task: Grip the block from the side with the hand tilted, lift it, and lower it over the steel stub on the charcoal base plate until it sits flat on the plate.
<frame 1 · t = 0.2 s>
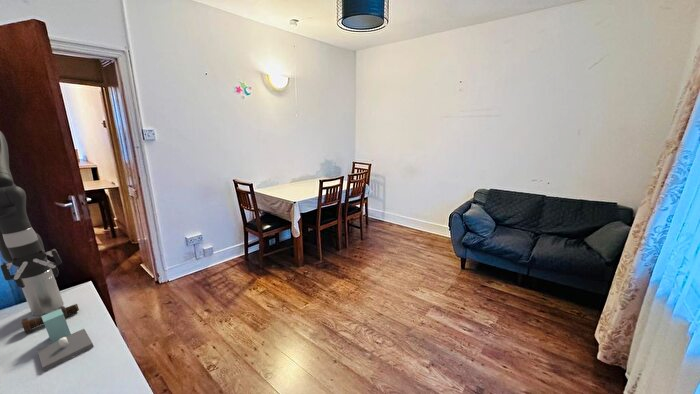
hand: (40, 281, 105), 18 cm above the table, tool pointing down, fingers open, 8 cm apart
block: (60, 335, 103), on the table
bolt: (54, 322, 111), on the table
base plate: (66, 349, 96), on the table
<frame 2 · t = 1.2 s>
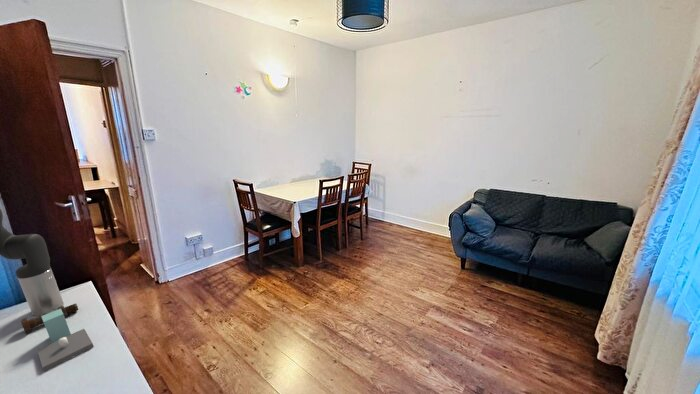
nothing on the table moved.
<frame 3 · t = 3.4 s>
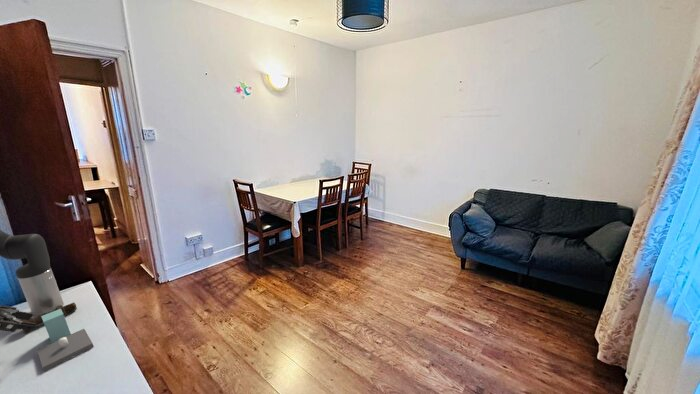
hand: (32, 321, 97), 9 cm above the table, tool tilted 45°, fingers open, 8 cm apart
bolt: (52, 321, 112), on the table
everything else where it was.
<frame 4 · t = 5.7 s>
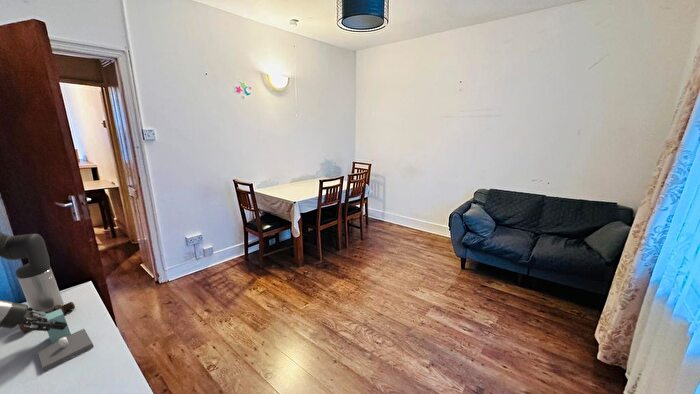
hand: (63, 323, 103), 4 cm above the table, tool tilted 45°, fingers closed on block, 5 cm apart
block: (60, 335, 103), on the table, touching gripper
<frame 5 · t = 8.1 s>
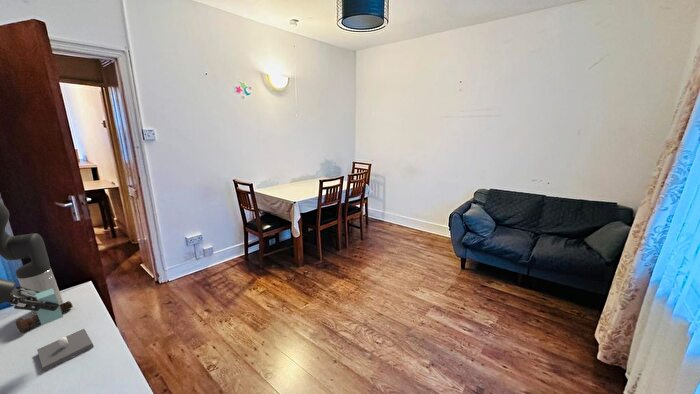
hand: (55, 304, 94), 16 cm above the table, tool tilted 45°, fingers closed on block, 5 cm apart
block: (51, 318, 94), point 12 cm above the table, touching gripper
bolt: (48, 320, 112), on the table
when the fingers open (7 cm above the table, at t = 10.6 s): block stays where it is, resting on base plate.
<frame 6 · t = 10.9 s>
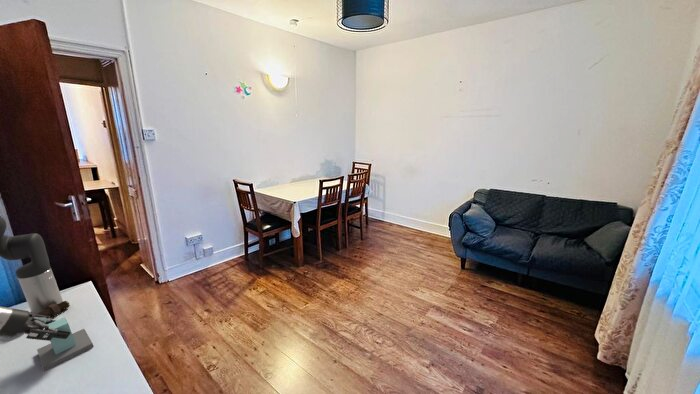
hand: (66, 330, 96), 7 cm above the table, tool tilted 45°, fingers open, 7 cm apart
block: (64, 346, 96), point 1 cm above the table, touching base plate
bolt: (46, 320, 112), on the table
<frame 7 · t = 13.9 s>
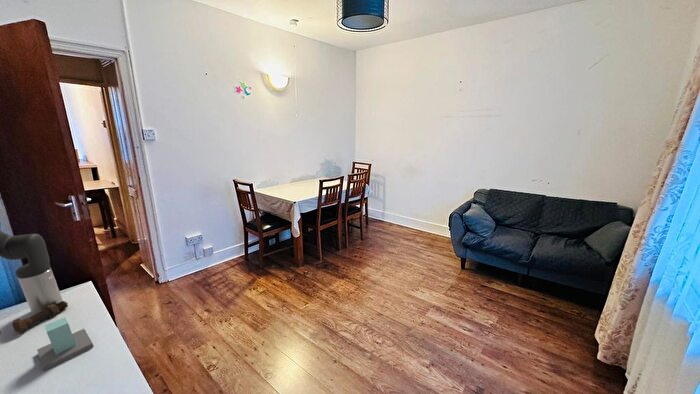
nothing on the table moved.
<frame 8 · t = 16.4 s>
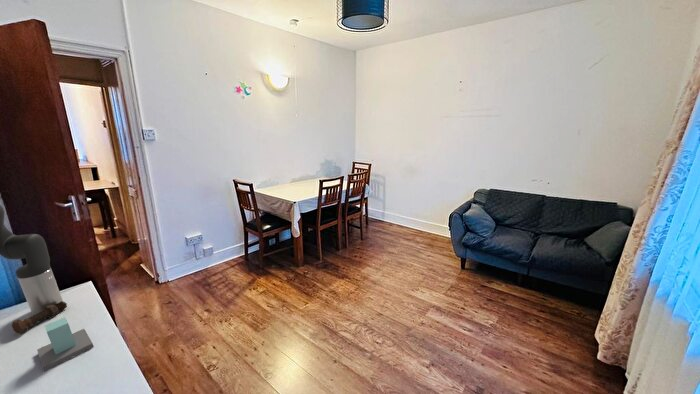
nothing on the table moved.
at the end: block 0.1 cm from the base plate (horizontally); block point 1.5 cm above the table; block tilted 0° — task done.
